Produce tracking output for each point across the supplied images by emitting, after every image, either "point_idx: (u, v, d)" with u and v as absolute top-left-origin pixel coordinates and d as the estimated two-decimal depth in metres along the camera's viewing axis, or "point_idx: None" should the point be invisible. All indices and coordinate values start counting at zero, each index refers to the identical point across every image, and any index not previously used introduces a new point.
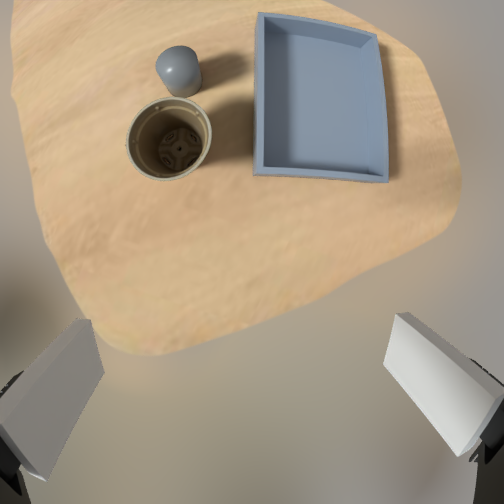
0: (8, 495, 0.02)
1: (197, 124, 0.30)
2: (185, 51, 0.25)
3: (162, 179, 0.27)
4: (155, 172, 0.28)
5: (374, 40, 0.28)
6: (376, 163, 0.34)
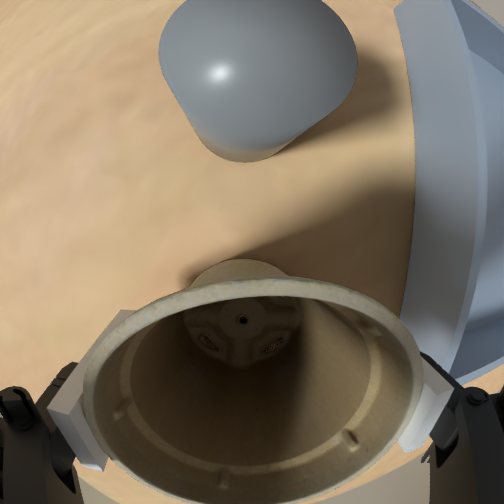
0: (64, 495, 0.03)
1: (326, 308, 0.09)
2: (298, 4, 0.05)
3: None
4: (209, 464, 0.08)
5: None
6: None
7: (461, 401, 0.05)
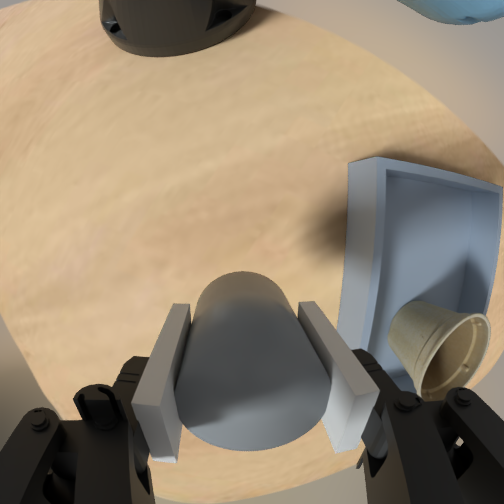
0: (144, 499, 0.04)
1: None
2: (289, 369, 0.07)
3: None
4: (423, 390, 0.19)
5: (499, 199, 0.19)
6: None
7: (387, 408, 0.05)
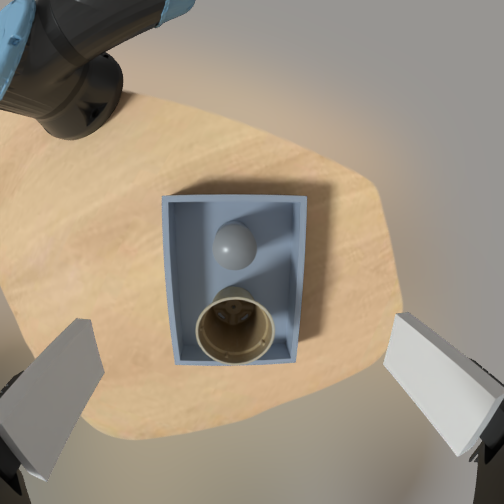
0: (8, 495, 0.02)
1: None
2: (243, 235, 0.31)
3: (232, 364, 0.33)
4: (222, 350, 0.34)
5: (302, 207, 0.33)
6: (289, 341, 0.39)
7: None
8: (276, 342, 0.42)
